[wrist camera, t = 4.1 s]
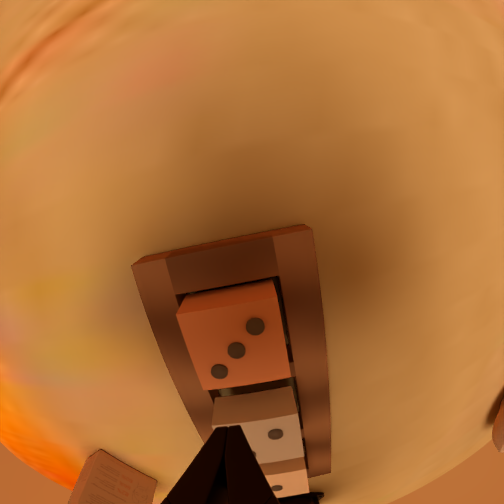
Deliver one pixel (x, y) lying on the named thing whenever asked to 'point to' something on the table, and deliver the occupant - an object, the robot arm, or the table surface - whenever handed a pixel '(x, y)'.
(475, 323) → the table surface
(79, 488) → the small box
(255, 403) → the tile two pip
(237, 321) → the tile three pip
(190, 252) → the tile tray
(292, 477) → the tile one pip
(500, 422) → the cereal bowl
